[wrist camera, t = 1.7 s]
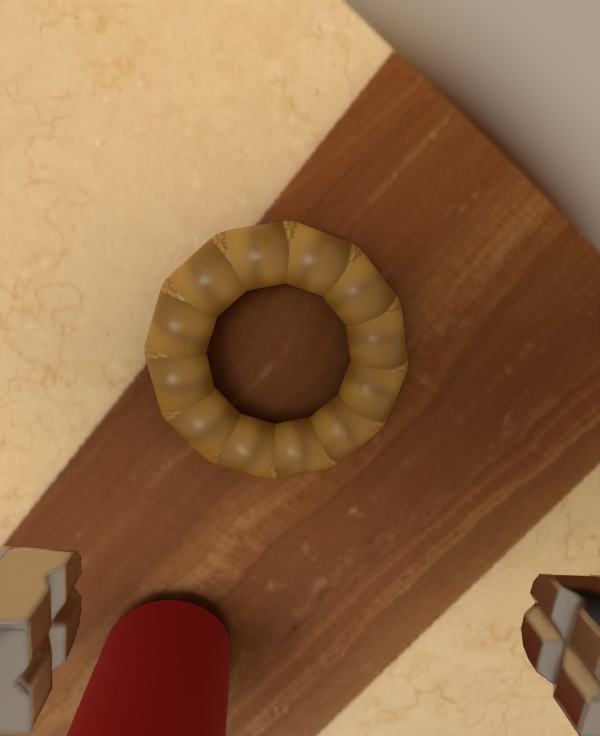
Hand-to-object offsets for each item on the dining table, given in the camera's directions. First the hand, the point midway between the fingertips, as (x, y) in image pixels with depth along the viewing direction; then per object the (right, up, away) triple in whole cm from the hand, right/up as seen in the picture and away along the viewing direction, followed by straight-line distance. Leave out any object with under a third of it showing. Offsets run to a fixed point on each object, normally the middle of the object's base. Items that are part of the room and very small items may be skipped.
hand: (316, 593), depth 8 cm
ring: (-1, +4, +12) cm, 13 cm away
